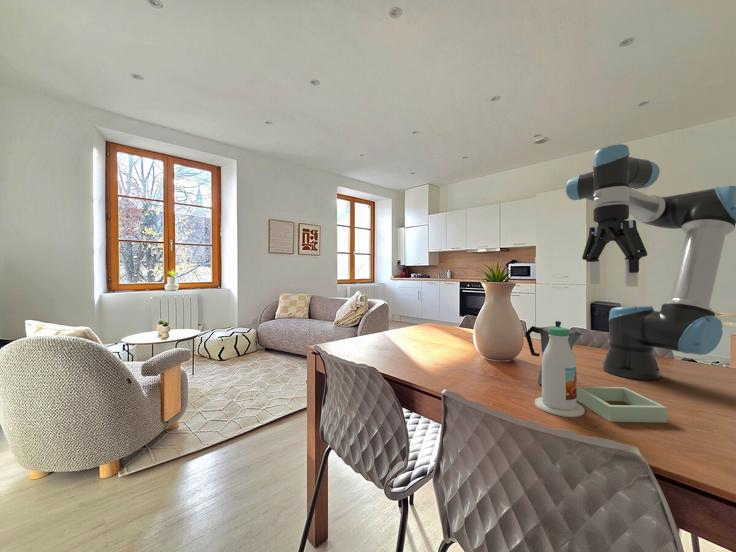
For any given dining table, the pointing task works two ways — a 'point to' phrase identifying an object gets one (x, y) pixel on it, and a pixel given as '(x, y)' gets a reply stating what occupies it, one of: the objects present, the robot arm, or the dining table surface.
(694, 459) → the dining table surface
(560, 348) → the milk bottle
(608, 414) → the green square tray
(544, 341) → the moka pot
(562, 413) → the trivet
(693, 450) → the dining table surface
